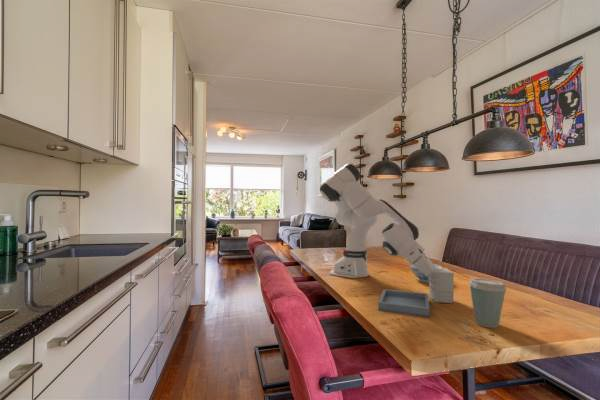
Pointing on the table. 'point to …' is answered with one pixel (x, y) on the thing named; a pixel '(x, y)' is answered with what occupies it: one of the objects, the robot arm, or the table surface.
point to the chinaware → (420, 274)
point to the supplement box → (442, 286)
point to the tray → (404, 302)
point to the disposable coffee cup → (487, 301)
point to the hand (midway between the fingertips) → (439, 277)
